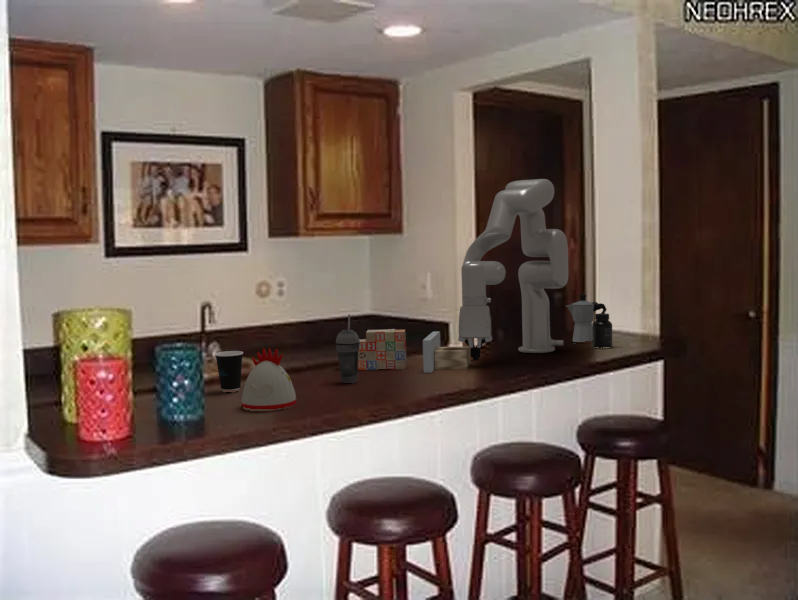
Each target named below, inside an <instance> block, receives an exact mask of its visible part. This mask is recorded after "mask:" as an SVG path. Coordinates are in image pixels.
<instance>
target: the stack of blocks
mask: <svg viewBox="0 0 798 600" xmlns="http://www.w3.org/2000/svg"><path fill="white" fill-rule="evenodd" d="M406 334H407V333H406V329H396V328H391V329H390V328H388V329H387V328H386V329H367V331H366V332H365V338H363V339H360V338H359V341H360V346H359V353H358V371H376V370H377V371H379V370H378V369H391V370H406V368H407V342H406V341H407V338H406ZM338 371H340V368H339V367H338Z"/></svg>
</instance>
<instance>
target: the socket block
mask: <svg viewBox="0 0 798 600" xmlns="http://www.w3.org/2000/svg"><path fill="white" fill-rule="evenodd" d="M434 356H435V369H434V371H435V370H436V371H437V370H439V371H440V370H441V371H442V370H446V371H447V370H448V371H449V370H450V371H451V370H468V368H469V366H470V364H471V363H470V362H471V361H470V357H469V347H462V346H440V347H438V348H437V349H436V350H435V351H434Z"/></svg>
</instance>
